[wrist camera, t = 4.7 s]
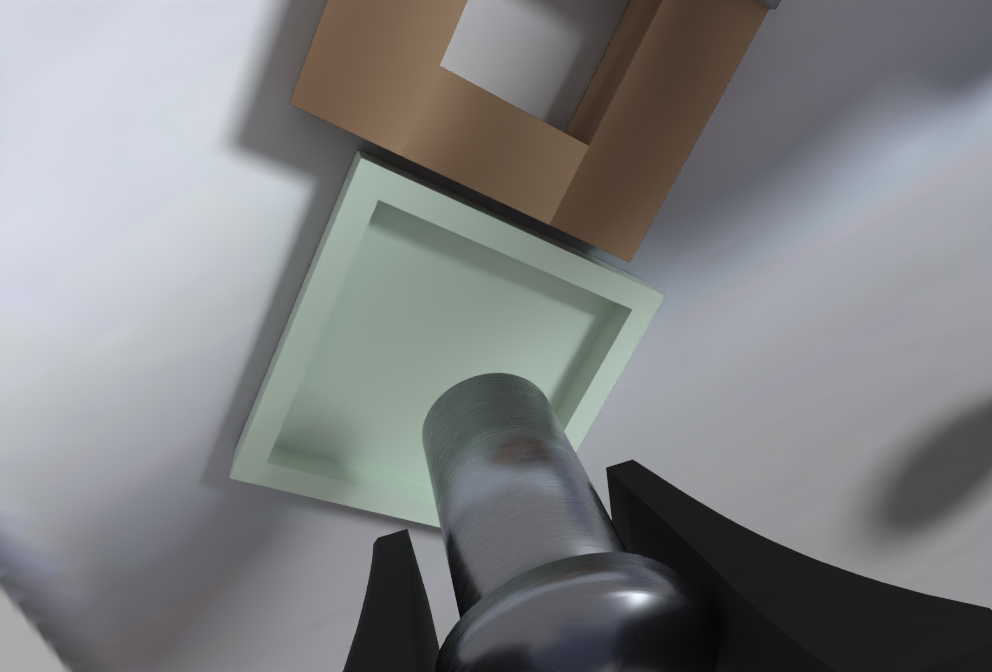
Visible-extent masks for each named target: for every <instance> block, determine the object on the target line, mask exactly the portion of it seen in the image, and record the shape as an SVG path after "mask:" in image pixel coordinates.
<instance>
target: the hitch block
mask: <svg viewBox="0 0 992 672" xmlns="http://www.w3.org/2000/svg"><path fill="white" fill-rule="evenodd" d="M780 1H781V0H630V2H629V4H628V7H627V9H626V11H625V13H624V15H623V17H622V19H621V21H620V23H619V25H618V27H617V29H616V31H615V33H614V35H613V37H612V39H611V41H610V43H609V45H608V47H607V49H606V51H605V53H604V55H603V57H602V59H601V61H600V63H599V65H598V67H597V69H596V71H595V73H594V75H593V77H592V80H591V82H590V84H589V86H588V88H587V90H586V92H585V94H584V96H583V98H582V100H581V102H580V104H579V106H578V108H577V110H576V112H575V114H574V116H573V118H572V120H571V122H570V124H569V126H568V128H567V130H566V132H565V133H564V132H562V131H560V130H558V129H556V128H554V127H552V126H551V125H549V124H547V123H545V122H543V121H541V120H539V119H538V118H536V117H534V116H532V115H530V114H528V113H526V112H525V111H523V110H521V109H519V108H517V107H515V106H513V105H512V104H510V103H508V102H506V101H504V100H502V99H500V98H499V97H497V96H495V95H493V94H491V93H489V92H487V91H486V90H484V89H482V88H480V87H478V86H476V85H474V84H473V83H471V82H469V81H467V80H465V79H463V78H461V77H459V76H458V75H456V74H454V73H452V72H450V71H448V70H446V69H445V68H443V67H441V66H440V63H441V61H442V59H443V56H444V54H445V52H446V49H447V47H448V45H449V42H450V40H451V38H452V35H453V33H454V31H455V28H456V26H457V24H458V21H459V19H460V17H461V14H462V12H463V10H464V7H465V5H466V3H467V0H328V1H327V3H326V6H325V9H324V11H323V14H322V17H321V19H320V22H319V25H318V27H317V30H316V33H315V35H314V38H313V41H312V43H311V46H310V49H309V52H308V54H307V57H306V60H305V62H304V65H303V68H302V70H301V73H300V76H299V78H298V81H297V84H296V86H295V89H294V92H293V95H292V97H291V100H290V103H289V104H291V105H293V106H295V107H297V108H299V109H301V110H304V111H306V112H308V113H310V114H312V115H314V116H316V117H319V118H321V119H323V120H325V121H327V122H329V123H331V124H334V125H336V126H338V127H340V128H342V129H344V130H346V131H349V132H351V133H353V134H355V135H357V136H359V137H362V138H364V139H366V140H368V141H370V142H372V143H374V144H377V145H379V146H381V147H383V148H385V149H387V150H389V151H392V152H394V153H396V154H398V155H400V156H402V157H404V158H407V159H409V160H411V161H413V162H415V163H417V164H419V165H422V166H424V167H426V168H428V169H430V170H432V171H434V172H437V173H439V174H441V175H443V176H445V177H447V178H449V179H452V180H454V181H456V182H458V183H460V184H462V185H464V186H467V187H469V188H471V189H473V190H475V191H477V192H479V193H482V194H484V195H486V196H488V197H490V198H492V199H494V200H497V201H499V202H501V203H503V204H505V205H507V206H509V207H512V208H514V209H516V210H518V211H520V212H522V213H524V214H527V215H529V216H531V217H533V218H535V219H537V220H539V221H542V222H544V223H546V224H548V225H550V226H552V227H554V228H557V229H559V230H561V231H563V232H565V233H567V234H569V235H572V236H574V237H576V238H578V239H580V240H582V241H584V242H587V243H589V244H591V245H593V246H595V247H597V248H600V249H602V250H604V251H606V252H608V253H610V254H612V255H615V256H617V257H619V258H621V259H623V260H625V261H627V262H630V261H631V259H632V257H633V255H634V254H635V252H636V250H637V248H638V246H639V244H640V243H641V241H642V239H643V237H644V235H645V234H646V232H647V230H648V228H649V226H650V224H651V223H652V221H653V219H654V217H655V215H656V214H657V212H658V210H659V208H660V206H661V204H662V203H663V201H664V199H665V197H666V195H667V194H668V192H669V190H670V188H671V186H672V184H673V183H674V181H675V179H676V177H677V175H678V174H679V172H680V170H681V168H682V166H683V164H684V163H685V161H686V159H687V157H688V155H689V154H690V152H691V150H692V148H693V146H694V144H695V143H696V141H697V139H698V137H699V135H700V134H701V132H702V130H703V128H704V126H705V124H706V123H707V121H708V119H709V117H710V115H711V114H712V112H713V110H714V108H715V106H716V104H717V103H718V101H719V99H720V97H721V95H722V94H723V92H724V90H725V88H726V86H727V84H728V83H729V81H730V79H731V77H732V75H733V74H734V72H735V70H736V68H737V66H738V64H739V63H740V61H741V59H742V57H743V55H744V54H745V52H746V50H747V48H748V46H749V44H750V43H751V41H752V39H753V37H754V35H755V34H756V32H757V30H758V28H759V26H760V24H761V23H762V21H763V19H764V17H765V15H766V14H767V12H768V10H769V9H776V8H777V6H778V4H779V3H780Z"/></svg>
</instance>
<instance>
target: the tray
mask: <svg viewBox="0 0 992 672" xmlns="http://www.w3.org/2000/svg"><path fill="white" fill-rule="evenodd" d="M664 297H665V295H664V294H662V293H661V292H659V291H658V290H656V289H655V288H654V287H652V286H651V285H649V284H648V283H646V282H645V281H644V280H641V279H639V278H637V277H635V276H633V275H631V274H628V273H626V272H624V271H622V270H620V269H617V268H615V267H613V266H611V265H609V264H607V263H604V262H602V261H600V260H598V259H596V258H593V257H591V256H589V255H587V254H585V253H582V252H580V251H578V250H576V249H574V248H572V247H569V246H567V245H565V244H563V243H561V242H558V241H556V240H554V239H552V238H550V237H548V236H545V235H543V234H541V233H539V232H537V231H534V230H532V229H530V228H528V227H526V226H524V225H521V224H519V223H517V222H515V221H513V220H510V219H508V218H506V217H504V216H502V215H499V214H497V213H495V212H493V211H491V210H489V209H486V208H484V207H482V206H480V205H478V204H475V203H473V202H471V201H469V200H467V199H465V198H462V197H460V196H458V195H456V194H454V193H451V192H449V191H447V190H445V189H443V188H440V187H438V186H436V185H434V184H432V183H430V182H427V181H425V180H423V179H421V178H419V177H416V176H414V175H412V174H410V173H408V172H406V171H403V170H401V169H399V168H397V167H395V166H392V165H390V164H388V163H386V162H384V161H381V160H379V159H377V158H375V157H373V156H371V155H368V154H366V153H364V152H362V151H360V150H357V152H356V154H355V157H354V159H353V162H352V164H351V167H350V169H349V172H348V174H347V176H346V179H345V181H344V184H343V186H342V189H341V191H340V194H339V196H338V199H337V201H336V203H335V206H334V208H333V211H332V213H331V216H330V218H329V221H328V223H327V225H326V228H325V230H324V233H323V235H322V238H321V240H320V243H319V245H318V247H317V250H316V252H315V255H314V257H313V260H312V262H311V265H310V267H309V269H308V272H307V274H306V277H305V279H304V282H303V284H302V287H301V289H300V292H299V294H298V296H297V299H296V301H295V304H294V306H293V309H292V311H291V314H290V316H289V318H288V321H287V323H286V326H285V328H284V331H283V333H282V336H281V338H280V340H279V343H278V345H277V348H276V350H275V353H274V355H273V358H272V360H271V362H270V365H269V367H268V370H267V372H266V375H265V377H264V380H263V382H262V384H261V387H260V389H259V392H258V394H257V397H256V399H255V402H254V404H253V407H252V409H251V411H250V414H249V416H248V419H247V421H246V424H245V426H244V429H243V431H242V433H241V436H240V438H239V441H238V443H237V446H236V448H235V451H234V456H233V461H232V467H231V472H230V477H229V478H230V479H234V480H238V481H242V482H247V483H251V484H255V485H260V486H264V487H268V488H273V489H277V490H281V491H285V492H290V493H294V494H298V495H303V496H307V497H311V498H315V499H320V500H324V501H328V502H333V503H337V504H341V505H345V506H350V507H354V508H358V509H363V510H367V511H371V512H375V513H380V514H384V515H388V516H393V517H397V518H401V519H405V520H410V521H414V522H418V523H423V524H427V525H431V526H435V527H440V522H439V518H438V513H437V508H436V504H435V499H434V494H433V490H432V485H431V480H430V476H429V471H428V466H427V462H426V457H425V452H424V448H423V443H422V429H423V424H424V420H425V418H426V416H427V413H428V412H429V410H430V408H431V407H432V405H433V404H434V403H435V401H436V400H437V399H438V398H439V397H440V396H441V395H442V394H443V393H444V392H446V391H447V390H448V389H449V388H451V387H452V386H454V385H456V384H457V383H459V382H461V381H463V380H466V379H468V378H471V377H474V376H477V375H482V374H488V373H507V374H513V375H517V376H520V377H522V378H525V379H527V380H529V381H531V382H532V383H534V384H535V385H536V386H537V387H539V389H540V390H541V391H542V392H543V393H544V395H545V396H546V398H547V399H548V401H549V403H550V405H551V407H552V409H553V411H554V413H555V415H556V416H557V418H558V420H559V422H560V424H561V426H562V428H563V430H564V432H565V434H566V435H567V437H568V439H569V441H570V443H571V445H572V447H573V449H574V451H575V452H576V450H577V449H578V447H579V445H580V443H581V442H582V440H583V438H584V436H585V435H586V433H587V431H588V430H589V428H590V426H591V424H592V423H593V421H594V419H595V417H596V416H597V414H598V412H599V410H600V409H601V407H602V405H603V403H604V402H605V400H606V398H607V396H608V395H609V393H610V391H611V389H612V388H613V386H614V384H615V383H616V381H617V379H618V377H619V376H620V374H621V372H622V370H623V369H624V367H625V365H626V363H627V362H628V360H629V358H630V356H631V355H632V353H633V351H634V349H635V348H636V346H637V344H638V342H639V341H640V339H641V337H642V336H643V334H644V332H645V330H646V329H647V327H648V325H649V323H650V322H651V320H652V318H653V316H654V315H655V313H656V311H657V309H658V308H659V306H660V304H661V302H662V301H663V299H664ZM440 528H441V527H440Z"/></svg>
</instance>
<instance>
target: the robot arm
mask: <svg viewBox="0 0 992 672" xmlns="http://www.w3.org/2000/svg"><path fill="white" fill-rule="evenodd" d="M606 471H607V480H608V489H609V497H610V506H611V515H612V523H613V525H614V527H615V529H616V530H617V532H618V534H619V536H620V538H621V540H622V542H623V544H624V546H625V548H626V549H627V551H628V553H630V554H637V555H641V556H645V557H649V558H652V559H655V560H657V561H659V562H661V563H664V564H666V565H667V566H668V567H670V568H671V569H673V570H674V571H676V572H677V573H678V574H679V575H680V576H681V577H682V578H683V580H684V581H685V583H686V584H687V586H688V588H689V589H690V591H691V593H692V594H693V596H694V598H695V599H696V601H697V603H698V604H699V606H700V608H701V609H702V611H703V613H704V614H705V616H706V618H707V620H708V621H709V623H710V625H711V626H712V628H713V630H714V632H715V635H716V637H717V640H718V649H719V654H718V663H717V666H716V670H715V672H992V610H991V609H990V608H986V607H982V606H977V605H973V604H968V603H963V602H959V601H954V600H950V599H945V598H941V597H936V596H931V595H927V594H923V593H919V592H915V591H912V590H908V589H905V588H901V587H897V586H894V585H890V584H887V583H883V582H880V581H877V580H873V579H870V578H867V577H864V576H861V575H857V574H855V573H852V572H849V571H846V570H843V569H840V568H838V567H835V566H832V565H829V564H826V563H824V562H821V561H818V560H816V559H813V558H811V557H808V556H806V555H803V554H801V553H799V552H796V551H794V550H792V549H789V548H787V547H785V546H782V545H780V544H778V543H776V542H773V541H771V540H769V539H767V538H765V537H763V536H761V535H759V534H756V533H755V532H753V531H751V530H749V529H747V528H745V527H743V526H741V525H739V524H737V523H735V522H733V521H731V520H730V519H728V518H726V517H724V516H723V515H721V514H719V513H717V512H716V511H714V510H712V509H711V508H709V507H707V506H705V505H704V504H702V503H700V502H699V501H697V500H695V499H694V498H692V497H690V496H689V495H687V494H686V493H684V492H682V491H681V490H679V489H678V488H676V487H675V486H673V485H671V484H670V483H668V482H667V481H665V480H664V479H662V478H661V477H659V476H658V475H656V474H655V473H653V472H651V471H650V470H648V469H647V468H645V467H644V466H642V465H641V464H639V463H637V462H636V461H634V460H630V461H626V462H623V463H620V464H617V465H613V466H610V467H607V468H606ZM439 652H440V650H439V645H438V641H437V636H436V632H435V627H434V623H433V619H432V614H431V610H430V606H429V601H428V598H427V594H426V591H425V588H424V584H423V581H422V577H421V574H420V571H419V567H418V564H417V560H416V557H415V554H414V550H413V547H412V543H411V540H410V537H409V533H408V530H407V529H405V530H402V531H399V532H396V533H392V534H389V535H386V536H383V537H379V538H377V540H376V541H375V543H374V544H373V557H372V564H371V571H370V576H369V581H368V586H367V591H366V595H365V599H364V603H363V607H362V611H361V615H360V619H359V623H358V626H357V630H356V633H355V636H354V639H353V642H352V646H351V649H350V652H349V655H348V658H347V661H346V664H345V667H344V670H343V672H435V666H436V660H437V657H438V655H439Z"/></svg>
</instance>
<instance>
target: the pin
mask: <svg viewBox="0 0 992 672" xmlns="http://www.w3.org/2000/svg"><path fill="white" fill-rule="evenodd" d="M422 443H423V448H424V452H425V457H426V462H427V466H428V471H429V476H430V480H431V485H432V490H433V494H434V499H435V504H436V508H437V513H438V518H439V522H440V527H441V531H442V536H443V541H444V545H445V550H446V555H447V559H448V564H449V569H450V573H451V578H452V583H453V587H454V592H455V597H456V601H457V606H458V610H459V615H460V620H459V621H458V622H457V623H456V624H455V626H454V627H453V629H452V630H451V631H450V633H449V634H448V636H447V637H446V639H445V641H444V643H443V645H442V647H441V649H440V652H439V655H438V657H437V660H436V666H435V672H715V670H716V666H717V663H718V654H719V649H718V640H717V637H716V635H715V632H714V630H713V628H712V626H711V625H710V623H709V621H708V620H707V618H706V616H705V614H704V613H703V611H702V609H701V608H700V606H699V604H698V603H697V601H696V599H695V598H694V596H693V594H692V593H691V591H690V589H689V588H688V586H687V584H686V583H685V581H684V580H683V578H682V577H681V576H680V575H679V574H678V573H677V572H676V571H674V570H673V569H671V568H670V567H668V566H667V565H666V564H664V563H661V562H659V561H657V560H655V559H652V558H649V557H645V556H641V555H637V554H630V553H628V551H627V549H626V548H625V546H624V544H623V542H622V540H621V538H620V536H619V534H618V532H617V530H616V529H615V527H614V525H613V523H612V521H611V519H610V517H609V515H608V513H607V511H606V510H605V508H604V506H603V504H602V502H601V500H600V498H599V496H598V494H597V492H596V491H595V489H594V487H593V485H592V483H591V481H590V479H589V477H588V475H587V473H586V472H585V470H584V468H583V466H582V464H581V462H580V460H579V458H578V456H577V454H576V453H575V451H574V449H573V447H572V445H571V443H570V441H569V439H568V437H567V435H566V434H565V432H564V430H563V428H562V426H561V424H560V422H559V420H558V418H557V416H556V415H555V413H554V411H553V409H552V407H551V405H550V403H549V401H548V399H547V398H546V396H545V395H544V393H543V392H542V391H541V390H540V389H539V387H537V386H536V385H535V384H534V383H532V382H531V381H529V380H527V379H525V378H522V377H520V376H517V375H513V374H507V373H488V374H482V375H477V376H474V377H471V378H468V379H466V380H463V381H461V382H459V383H457V384H456V385H454V386H452V387H451V388H449V389H448V390H447V391H446V392H444V393H443V394H442V395H441V396H440V397H439V398H438V399H437V400H436V401H435V403H434V404H433V405H432V407H431V408H430V410H429V412H428V413H427V416H426V418H425V420H424V424H423V429H422Z"/></svg>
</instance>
